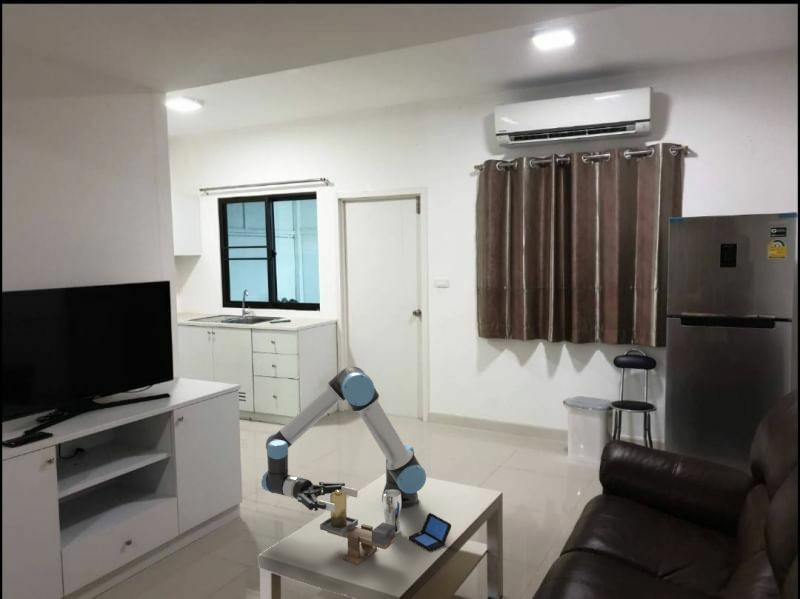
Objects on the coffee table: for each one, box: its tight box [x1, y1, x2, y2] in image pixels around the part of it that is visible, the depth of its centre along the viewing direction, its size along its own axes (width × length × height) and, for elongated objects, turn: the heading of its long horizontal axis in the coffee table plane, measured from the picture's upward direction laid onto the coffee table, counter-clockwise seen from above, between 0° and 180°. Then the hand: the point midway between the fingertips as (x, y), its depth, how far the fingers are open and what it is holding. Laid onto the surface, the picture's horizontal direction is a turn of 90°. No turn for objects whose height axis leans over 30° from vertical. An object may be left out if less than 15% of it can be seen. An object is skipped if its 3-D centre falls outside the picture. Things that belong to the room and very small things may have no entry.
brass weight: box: [329, 490, 348, 528], centre depth 212 cm, size 6×6×12 cm
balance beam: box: [319, 516, 396, 550], centre depth 209 cm, size 10×26×6 cm, turn 60°
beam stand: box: [343, 523, 378, 565], centre depth 209 cm, size 12×6×8 cm, turn 150°
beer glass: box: [382, 489, 402, 536], centre depth 225 cm, size 7×7×15 cm
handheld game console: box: [408, 512, 452, 552], centre depth 218 cm, size 12×11×7 cm
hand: (346, 500), depth 210 cm, fingers open, 13 cm apart
